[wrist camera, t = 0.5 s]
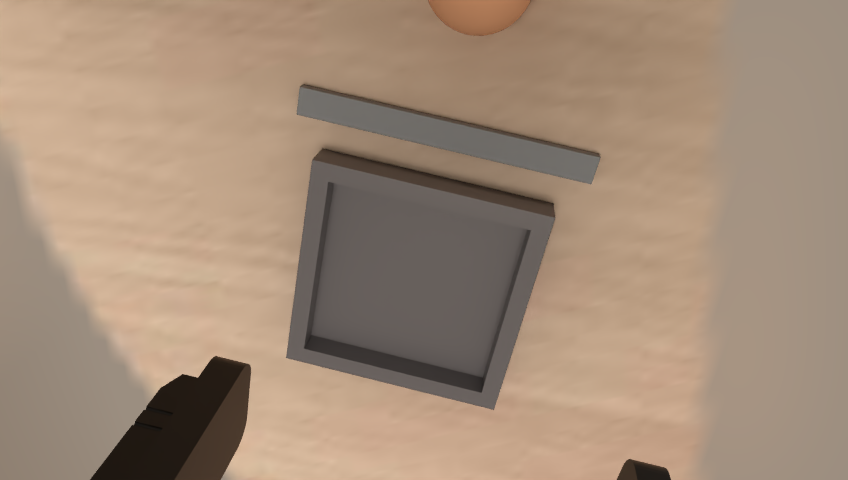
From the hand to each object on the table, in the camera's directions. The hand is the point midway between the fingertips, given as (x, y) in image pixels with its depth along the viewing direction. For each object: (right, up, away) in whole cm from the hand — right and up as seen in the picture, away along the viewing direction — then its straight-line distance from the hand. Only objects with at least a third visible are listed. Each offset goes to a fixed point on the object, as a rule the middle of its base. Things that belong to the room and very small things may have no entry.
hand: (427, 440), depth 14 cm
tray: (-1, +2, +25) cm, 25 cm away
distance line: (+1, +10, +21) cm, 23 cm away
